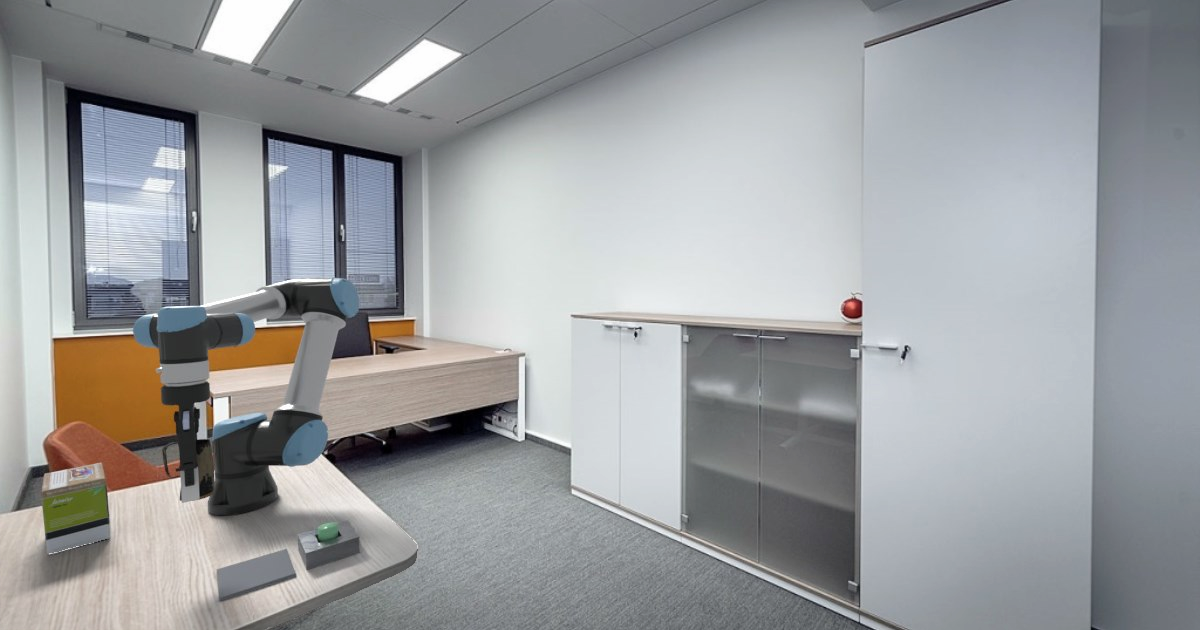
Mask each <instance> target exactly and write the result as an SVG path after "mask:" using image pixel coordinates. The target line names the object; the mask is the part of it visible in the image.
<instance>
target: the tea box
mask: <svg viewBox="0 0 1200 630" xmlns="http://www.w3.org/2000/svg"><path fill="white" fill-rule="evenodd" d="M104 470H105V469H104V466H103V463H102V462H97V463H93V464H86V465H82V466H78V467H71V468H67V469H62V470H58V471H53V472H46V473H44V475H43V478H42V486H41V495H40V496H41V505H42V508H41V509H42V515H43V526H44V527H43V528H44V537H45V538H44V539H45V540H44V541H45V544H46V545H45V546H46V548H45V549H46V555H47V554H49V553H54V552H59V551H62V550H65V549H68V548H73V547H76V546H81V545H84V544H89V543H93V542H97V543H99V542H98V541H100V542H102V541H101V540H104V541H106V540H105V539H107V540H109V539H111V524H110V523H111V522H110V509H109V507H110V506H109V495H108V487H107V482H106V481H107V480H106V474H105V471H104ZM93 544H94V543H93Z"/></svg>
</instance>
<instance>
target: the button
mask: <svg viewBox="0 0 1200 630" xmlns="http://www.w3.org/2000/svg"><path fill="white" fill-rule="evenodd" d="M337 523H338V522H333V521H332V522H326V523H322V524H321V525H319V526H318V527H317V529H318V543H321V542H324V541H327V540H331V539H334V538H337V537H338V524H337Z"/></svg>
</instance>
